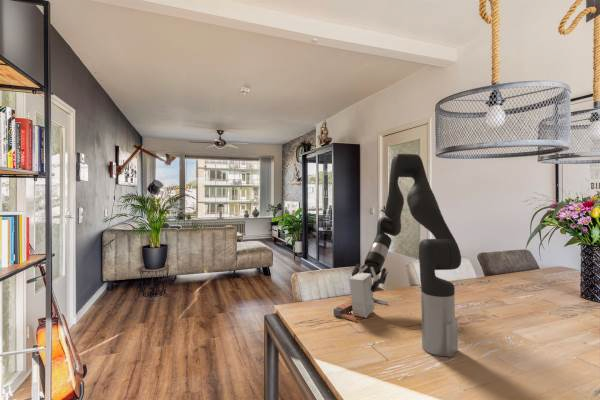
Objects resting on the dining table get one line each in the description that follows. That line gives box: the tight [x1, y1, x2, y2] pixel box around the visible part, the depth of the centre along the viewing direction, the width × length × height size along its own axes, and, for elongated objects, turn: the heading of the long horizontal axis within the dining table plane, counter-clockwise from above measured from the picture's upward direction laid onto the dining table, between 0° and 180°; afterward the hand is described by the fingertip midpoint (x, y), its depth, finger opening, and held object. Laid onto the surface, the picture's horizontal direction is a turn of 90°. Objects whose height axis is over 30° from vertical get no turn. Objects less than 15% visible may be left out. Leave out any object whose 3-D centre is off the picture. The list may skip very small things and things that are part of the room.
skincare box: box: [349, 273, 376, 319], centre depth 122 cm, size 8×6×15 cm
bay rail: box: [333, 297, 388, 323], centre depth 128 cm, size 25×10×3 cm, turn 137°
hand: (362, 288), depth 125 cm, fingers open, 8 cm apart
